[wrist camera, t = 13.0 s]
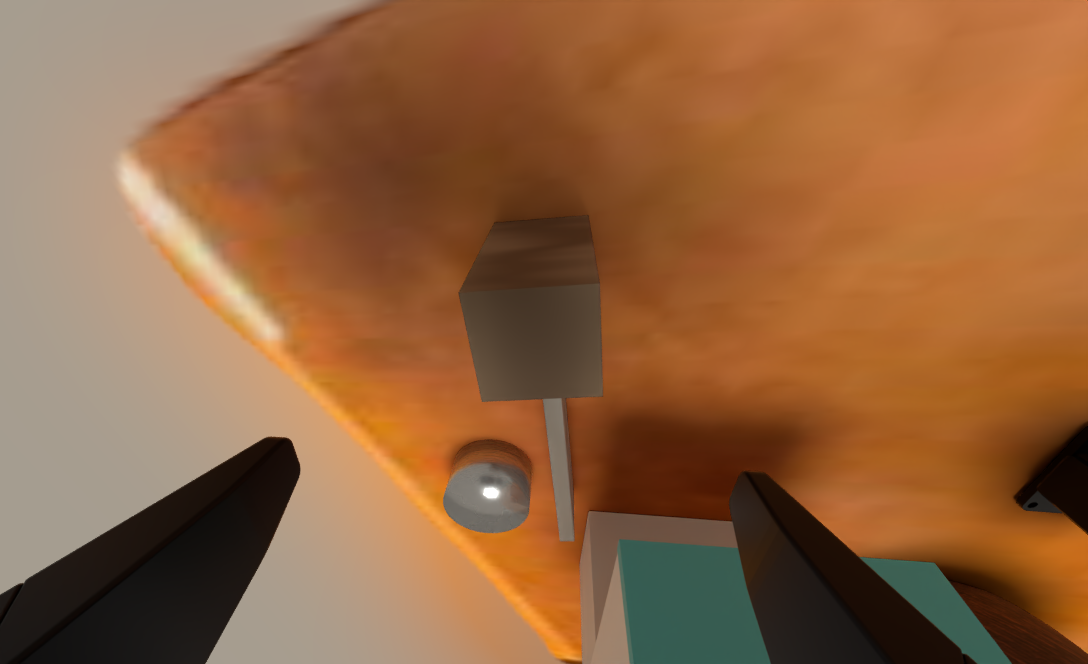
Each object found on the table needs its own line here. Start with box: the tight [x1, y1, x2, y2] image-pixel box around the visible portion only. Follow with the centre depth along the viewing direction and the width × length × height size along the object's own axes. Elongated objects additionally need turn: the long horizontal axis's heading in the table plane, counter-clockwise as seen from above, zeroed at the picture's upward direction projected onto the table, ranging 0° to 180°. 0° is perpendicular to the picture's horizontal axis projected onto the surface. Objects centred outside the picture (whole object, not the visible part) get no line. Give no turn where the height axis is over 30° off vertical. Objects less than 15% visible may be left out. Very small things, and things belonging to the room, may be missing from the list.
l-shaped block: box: [580, 511, 1012, 664], centre depth 21 cm, size 12×15×12 cm
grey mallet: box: [459, 215, 603, 541], centre depth 19 cm, size 4×17×7 cm, turn 5°
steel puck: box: [443, 440, 533, 533], centre depth 25 cm, size 5×5×3 cm
